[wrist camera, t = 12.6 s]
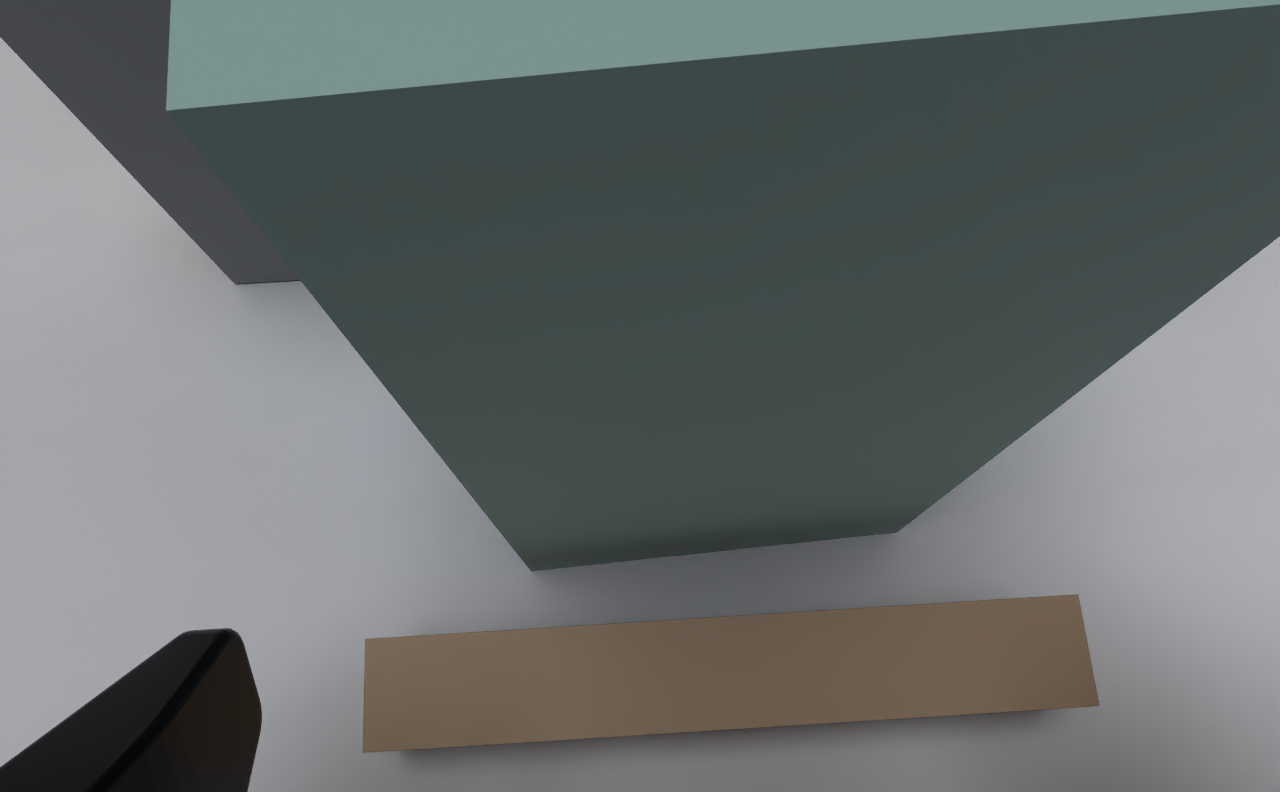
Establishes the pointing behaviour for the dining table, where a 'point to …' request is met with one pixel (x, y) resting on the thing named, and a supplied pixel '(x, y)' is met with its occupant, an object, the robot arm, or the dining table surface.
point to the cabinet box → (736, 231)
